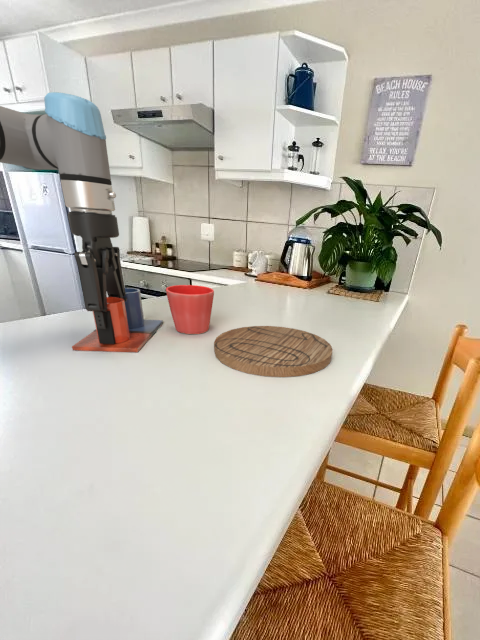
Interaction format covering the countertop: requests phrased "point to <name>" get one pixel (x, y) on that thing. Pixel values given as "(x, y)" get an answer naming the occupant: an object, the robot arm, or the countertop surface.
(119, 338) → the red cup
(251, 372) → the trivet
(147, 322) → the board
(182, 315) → the flower pot
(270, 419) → the countertop surface
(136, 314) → the blue cup
